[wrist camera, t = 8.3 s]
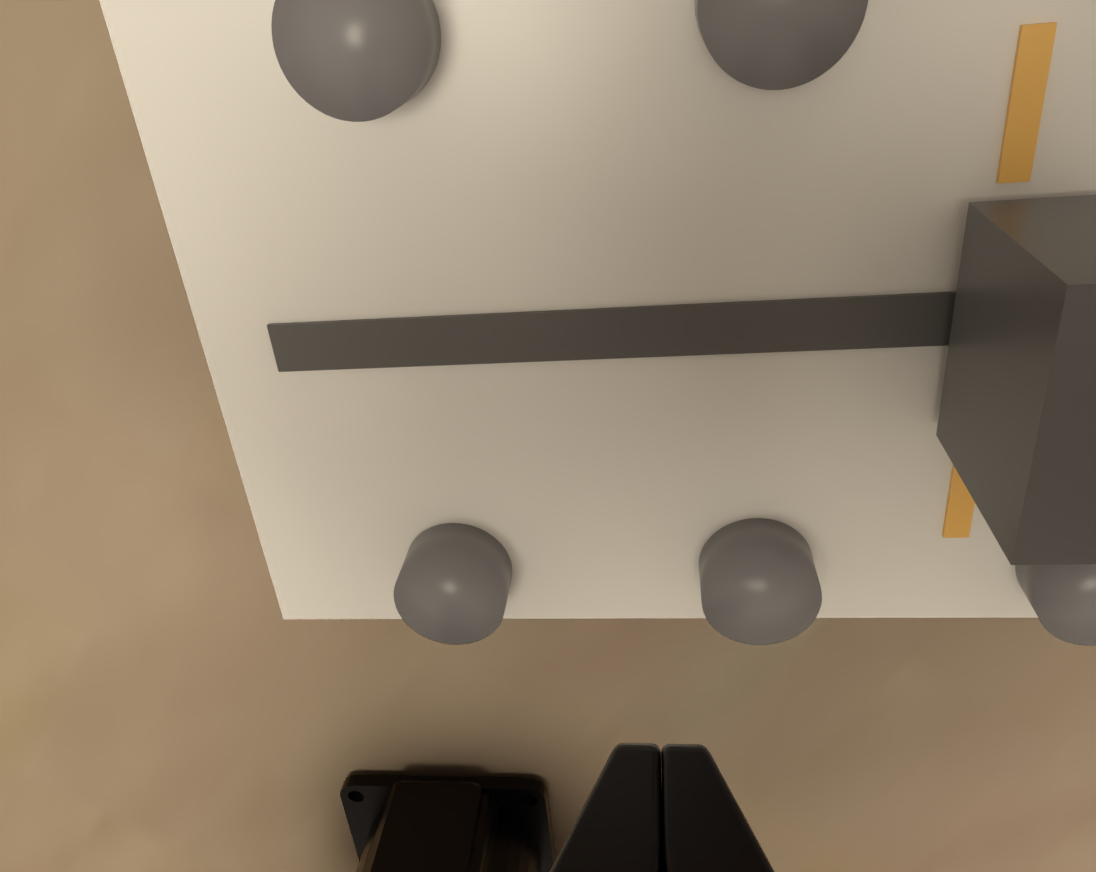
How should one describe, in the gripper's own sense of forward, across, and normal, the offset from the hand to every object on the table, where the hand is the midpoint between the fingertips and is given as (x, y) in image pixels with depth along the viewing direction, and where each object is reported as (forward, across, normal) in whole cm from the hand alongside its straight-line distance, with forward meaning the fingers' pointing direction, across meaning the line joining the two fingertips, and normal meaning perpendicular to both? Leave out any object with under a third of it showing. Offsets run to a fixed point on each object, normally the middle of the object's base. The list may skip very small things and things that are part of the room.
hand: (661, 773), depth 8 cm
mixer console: (+13, -2, 0) cm, 13 cm away
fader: (+9, -6, 0) cm, 11 cm away
